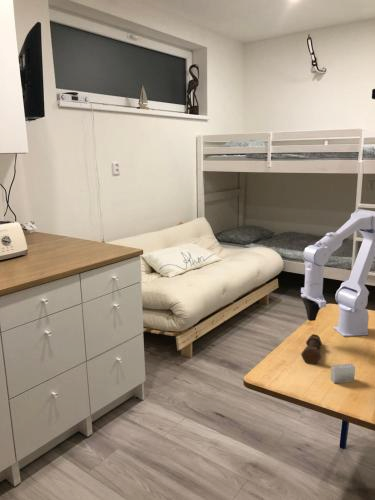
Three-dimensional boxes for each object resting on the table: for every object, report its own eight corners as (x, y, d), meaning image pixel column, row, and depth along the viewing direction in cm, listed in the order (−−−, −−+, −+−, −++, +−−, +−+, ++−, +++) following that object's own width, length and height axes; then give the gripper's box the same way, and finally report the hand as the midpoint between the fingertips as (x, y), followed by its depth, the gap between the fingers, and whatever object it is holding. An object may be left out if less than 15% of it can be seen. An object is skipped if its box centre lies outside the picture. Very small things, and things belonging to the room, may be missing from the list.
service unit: (350, 377, 118) (351, 363, 116) (354, 381, 115) (355, 367, 114) (330, 379, 117) (331, 364, 116) (333, 383, 115) (335, 368, 114)
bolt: (316, 348, 139) (312, 368, 125) (304, 339, 140) (298, 358, 127) (326, 336, 137) (323, 354, 123) (313, 327, 138) (308, 344, 125)
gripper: (293, 276, 141) (291, 312, 144) (312, 289, 127) (309, 329, 130) (312, 274, 142) (310, 311, 145) (333, 287, 128) (330, 328, 131)
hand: (311, 319), depth 138 cm, fingers closed
